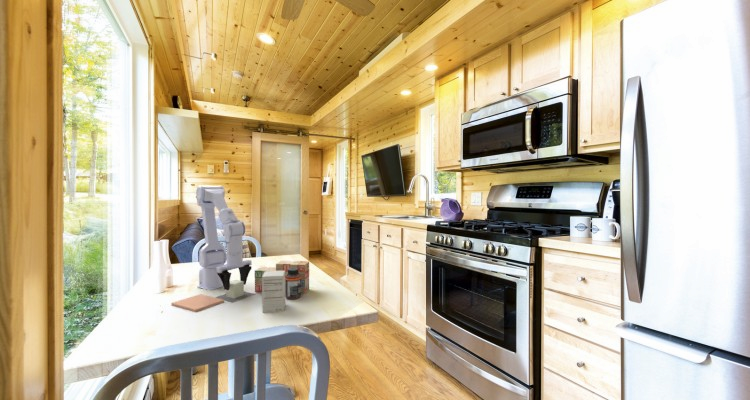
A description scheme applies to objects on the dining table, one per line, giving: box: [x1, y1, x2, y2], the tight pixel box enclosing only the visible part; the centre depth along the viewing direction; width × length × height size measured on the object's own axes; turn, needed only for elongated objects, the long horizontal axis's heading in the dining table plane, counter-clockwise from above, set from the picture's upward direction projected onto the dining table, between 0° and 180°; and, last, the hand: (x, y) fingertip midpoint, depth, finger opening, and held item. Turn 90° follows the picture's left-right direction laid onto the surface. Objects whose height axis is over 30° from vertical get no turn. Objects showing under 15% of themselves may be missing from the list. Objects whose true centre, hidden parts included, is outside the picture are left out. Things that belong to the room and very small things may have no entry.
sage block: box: [225, 279, 245, 298], centre depth 123 cm, size 4×4×6 cm
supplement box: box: [261, 271, 287, 313], centre depth 111 cm, size 7×7×13 cm
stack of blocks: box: [254, 260, 310, 295], centre depth 130 cm, size 21×6×12 cm, turn 85°
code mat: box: [214, 290, 256, 304], centre depth 123 cm, size 11×11×1 cm
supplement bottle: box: [285, 268, 302, 300], centre depth 122 cm, size 6×6×11 cm
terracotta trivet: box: [171, 293, 225, 313], centre depth 115 cm, size 14×11×1 cm
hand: (235, 286), depth 123 cm, fingers open, 7 cm apart
